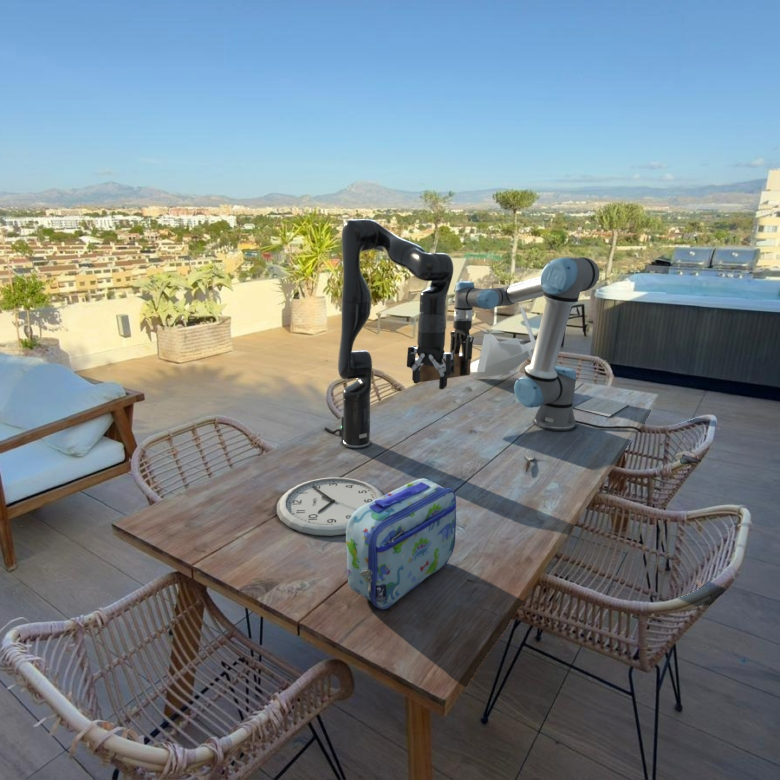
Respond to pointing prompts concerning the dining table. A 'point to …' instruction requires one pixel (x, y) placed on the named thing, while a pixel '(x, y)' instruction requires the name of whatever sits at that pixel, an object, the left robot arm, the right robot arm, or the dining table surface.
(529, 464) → the fork
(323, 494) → the wall clock
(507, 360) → the white plastic object
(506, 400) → the dining table surface
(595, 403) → the invitation card
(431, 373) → the bar
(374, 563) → the lunch box
